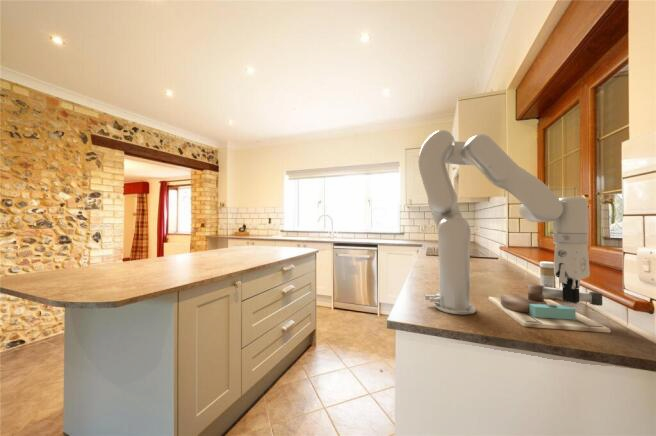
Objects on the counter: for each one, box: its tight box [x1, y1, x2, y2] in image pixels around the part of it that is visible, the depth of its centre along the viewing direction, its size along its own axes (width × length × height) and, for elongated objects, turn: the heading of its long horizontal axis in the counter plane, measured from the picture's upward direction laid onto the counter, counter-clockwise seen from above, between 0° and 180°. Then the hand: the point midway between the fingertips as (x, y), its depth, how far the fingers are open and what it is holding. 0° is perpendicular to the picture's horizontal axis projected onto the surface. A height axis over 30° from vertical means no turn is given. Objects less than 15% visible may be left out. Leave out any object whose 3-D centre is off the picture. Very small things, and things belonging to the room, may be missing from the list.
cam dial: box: [500, 283, 603, 313], centre depth 81 cm, size 22×16×7 cm
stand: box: [488, 296, 612, 333], centre depth 82 cm, size 20×25×1 cm
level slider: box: [529, 304, 576, 320], centre depth 76 cm, size 10×3×3 cm, turn 78°
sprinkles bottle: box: [539, 261, 557, 300], centre depth 98 cm, size 5×5×13 cm
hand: (570, 301), depth 75 cm, fingers closed
